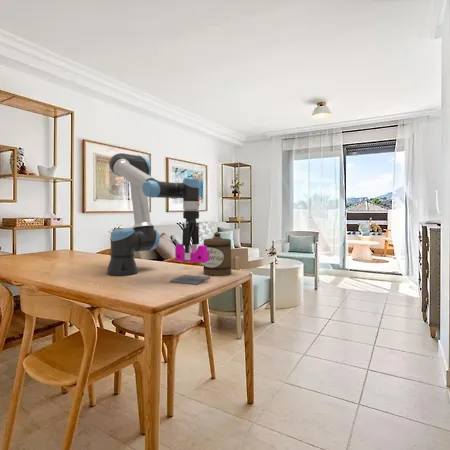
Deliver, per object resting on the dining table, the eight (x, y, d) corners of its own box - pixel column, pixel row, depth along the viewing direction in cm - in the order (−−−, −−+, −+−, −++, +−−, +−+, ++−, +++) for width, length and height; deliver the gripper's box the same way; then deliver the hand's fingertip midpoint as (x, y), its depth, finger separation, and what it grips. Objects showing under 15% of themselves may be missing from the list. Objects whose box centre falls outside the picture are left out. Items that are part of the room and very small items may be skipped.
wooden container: (197, 273, 172) (198, 232, 171) (214, 269, 185) (214, 230, 184) (220, 277, 164) (221, 233, 163) (236, 272, 176) (237, 232, 175)
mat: (169, 282, 151) (169, 281, 151) (184, 275, 166) (184, 274, 166) (197, 284, 146) (197, 283, 146) (210, 278, 162) (210, 276, 162)
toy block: (209, 260, 155) (209, 245, 155) (203, 262, 150) (203, 246, 149) (182, 258, 161) (182, 243, 161) (175, 260, 156) (175, 244, 155)
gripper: (189, 210, 144) (189, 262, 145) (206, 210, 163) (205, 256, 164) (174, 210, 147) (174, 261, 148) (192, 210, 165) (192, 255, 166)
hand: (190, 258), depth 156 cm, fingers closed on toy block, 7 cm apart
